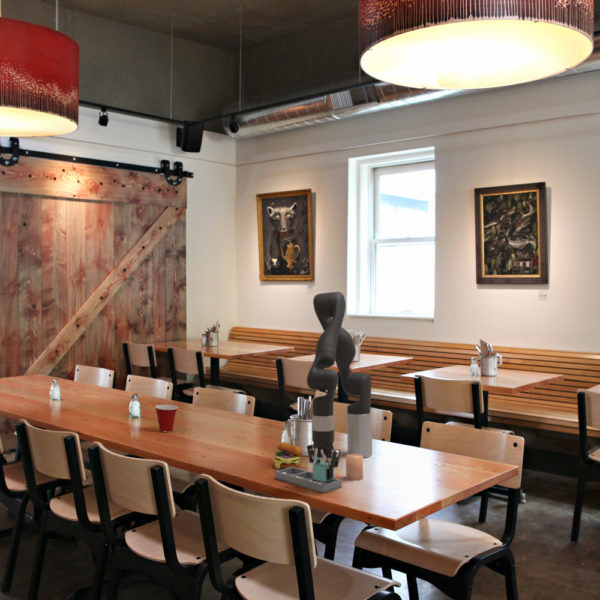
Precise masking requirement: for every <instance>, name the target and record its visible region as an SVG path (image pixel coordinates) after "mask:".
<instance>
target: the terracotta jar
mask: <svg viewBox="0 0 600 600" xmlns="http://www.w3.org/2000/svg"><path fill="white" fill-rule="evenodd" d="M345 478H347V479H346V480H348V481H353V480H357V481H362V480H363V479H364V458H363V455H361V454H348V455H347V454H346V455H345Z"/></svg>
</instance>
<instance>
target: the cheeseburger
mask: <svg viewBox="0 0 600 600" xmlns="http://www.w3.org/2000/svg"><path fill="white" fill-rule="evenodd" d="M277 450H279V451H276V452H274V458H273V465H274V467H275V469H277V470H279V469H280V470H281V469H286V468H290V467H296V468H298V466H299V463H300V459H301V457H302V456H303V454H302V452H303V451H302V448H301V447H300V446H298V445H295V444H294V445H292V444H291V443H289V442H286V441H285V442H284V441H283V442H281V443H279V445H278V447H277Z"/></svg>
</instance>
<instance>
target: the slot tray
mask: <svg viewBox="0 0 600 600" xmlns="http://www.w3.org/2000/svg"><path fill="white" fill-rule="evenodd" d="M274 475H275V476H274V478H275V480H279V481H283V482H286V483H288V484H292V485H296V486H298V487H299V486H300V487H303V488H305V489H309V490H312V491H315V492H319V493H321V492H323V493H322V494H325V492H326V493H329V492H332V491H335V489H336V490H339V489H341V488H342V484H343V481H342V479H338V478H335V477H334V479H333V480H329V481H326V482H321V481H318V480H314V479H313V471H310V470H306V469H303V468H300V467H290V468H281V469H280V470H279V469H277V470H275V472H274ZM338 488H339V489H338Z"/></svg>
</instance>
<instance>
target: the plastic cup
mask: <svg viewBox="0 0 600 600" xmlns="http://www.w3.org/2000/svg"><path fill="white" fill-rule="evenodd" d="M154 408H155V411H156V417H157V422H158V426H159V431H171V430H172V431H174V424H175V418H176V417H175V416H176V412H177V410H178V409H179V407H178V405H174V404H157V405H155V406H154ZM172 431H171V432H172Z"/></svg>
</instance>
